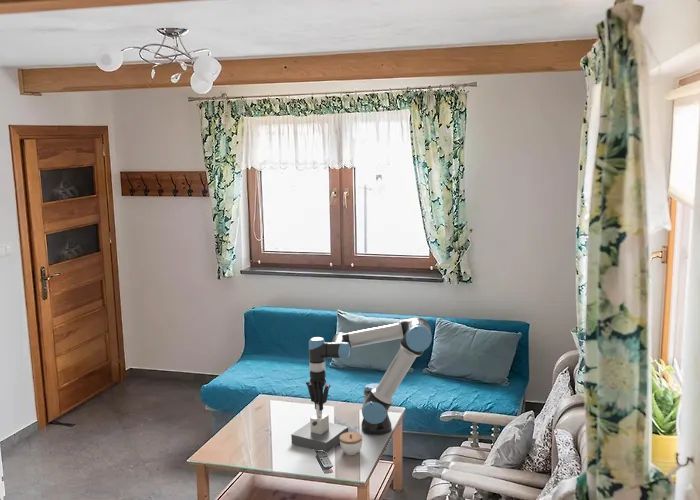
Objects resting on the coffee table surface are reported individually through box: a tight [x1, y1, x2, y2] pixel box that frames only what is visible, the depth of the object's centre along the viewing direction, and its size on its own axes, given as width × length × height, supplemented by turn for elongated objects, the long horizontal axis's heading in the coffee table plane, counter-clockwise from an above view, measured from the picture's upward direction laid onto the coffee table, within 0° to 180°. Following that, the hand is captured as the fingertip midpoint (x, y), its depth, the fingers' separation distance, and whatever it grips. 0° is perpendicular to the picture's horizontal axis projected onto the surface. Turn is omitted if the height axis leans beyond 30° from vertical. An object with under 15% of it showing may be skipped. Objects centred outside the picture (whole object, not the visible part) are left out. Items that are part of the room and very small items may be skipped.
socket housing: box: [290, 421, 349, 453], centre depth 339 cm, size 20×20×5 cm
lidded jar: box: [339, 431, 363, 456], centre depth 325 cm, size 11×11×9 cm
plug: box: [309, 413, 330, 434], centre depth 337 cm, size 6×9×10 cm
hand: (319, 416), depth 337 cm, fingers closed
